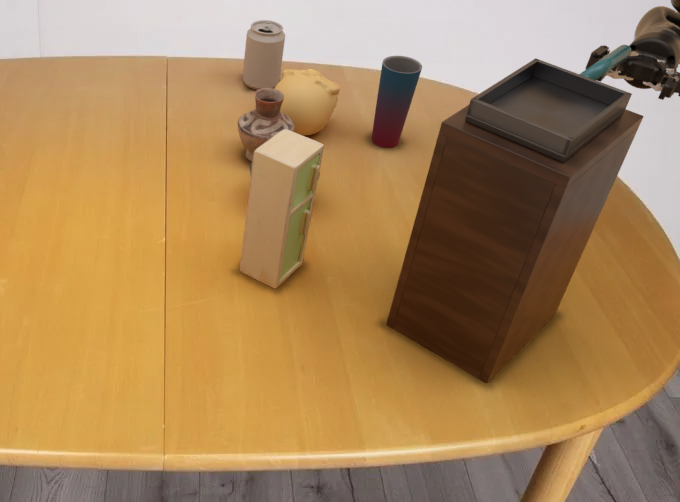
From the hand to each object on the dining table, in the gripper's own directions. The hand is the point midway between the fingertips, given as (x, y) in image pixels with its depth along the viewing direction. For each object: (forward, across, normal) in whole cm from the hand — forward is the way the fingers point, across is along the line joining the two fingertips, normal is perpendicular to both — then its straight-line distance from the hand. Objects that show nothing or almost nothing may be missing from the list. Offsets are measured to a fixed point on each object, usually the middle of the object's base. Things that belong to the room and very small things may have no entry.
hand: (631, 83), depth 121 cm
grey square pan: (+21, -4, -2) cm, 21 cm away
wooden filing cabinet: (+24, -5, +31) cm, 39 cm away
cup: (-15, -37, +26) cm, 47 cm away
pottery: (+10, -47, +29) cm, 56 cm away
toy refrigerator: (+31, -34, +32) cm, 56 cm away
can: (-19, -66, +25) cm, 74 cm away
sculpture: (-9, -52, +27) cm, 59 cm away
